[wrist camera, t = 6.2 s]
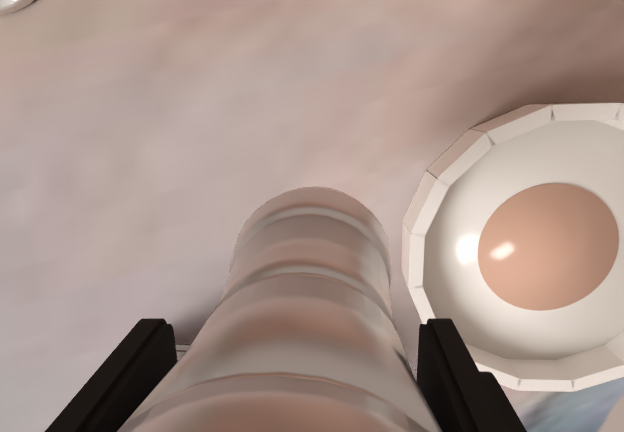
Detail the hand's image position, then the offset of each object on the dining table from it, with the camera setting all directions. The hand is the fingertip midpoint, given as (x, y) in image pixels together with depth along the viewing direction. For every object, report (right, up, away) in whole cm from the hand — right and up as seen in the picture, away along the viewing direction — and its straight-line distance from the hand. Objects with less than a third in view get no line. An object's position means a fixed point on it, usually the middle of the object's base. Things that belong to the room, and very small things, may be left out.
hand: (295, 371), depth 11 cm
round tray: (+18, +2, +21) cm, 28 cm away
